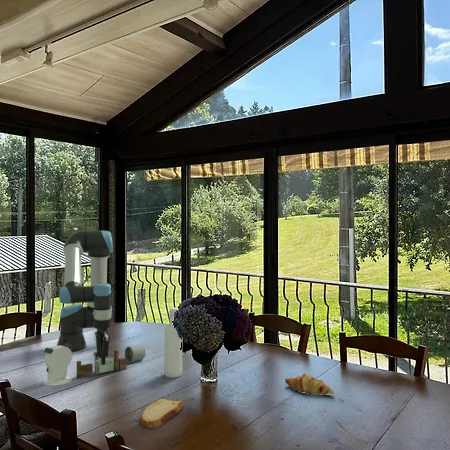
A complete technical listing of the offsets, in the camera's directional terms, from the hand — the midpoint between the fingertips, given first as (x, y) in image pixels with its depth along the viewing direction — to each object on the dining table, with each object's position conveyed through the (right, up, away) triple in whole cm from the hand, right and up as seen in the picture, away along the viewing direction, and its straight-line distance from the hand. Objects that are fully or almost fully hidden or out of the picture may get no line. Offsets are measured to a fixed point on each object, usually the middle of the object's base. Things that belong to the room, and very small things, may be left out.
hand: (102, 371), depth 198 cm
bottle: (+31, -2, +1) cm, 32 cm away
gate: (0, -1, +3) cm, 4 cm away
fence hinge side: (+6, -2, +8) cm, 10 cm away
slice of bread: (+33, -3, -40) cm, 52 cm away
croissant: (+89, -3, -17) cm, 91 cm away
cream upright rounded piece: (-17, -2, -7) cm, 19 cm away
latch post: (-4, -2, +4) cm, 6 cm away
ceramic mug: (+9, -2, +23) cm, 24 cm away
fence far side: (-7, -2, -1) cm, 7 cm away
